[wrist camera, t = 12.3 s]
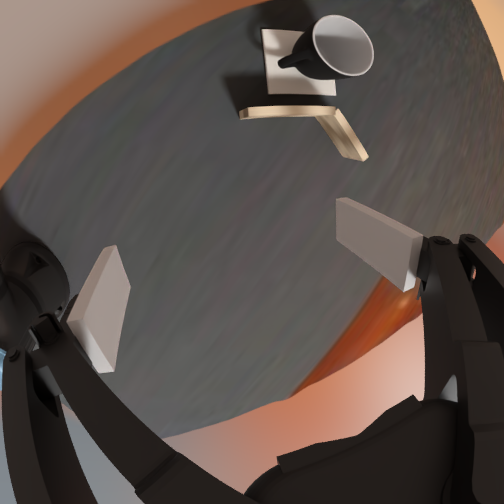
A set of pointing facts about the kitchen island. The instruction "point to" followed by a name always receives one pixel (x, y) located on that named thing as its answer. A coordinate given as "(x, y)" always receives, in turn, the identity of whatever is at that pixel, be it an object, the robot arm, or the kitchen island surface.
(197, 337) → the kitchen island surface
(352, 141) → the wooden boomerang
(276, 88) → the plate
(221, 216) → the kitchen island surface
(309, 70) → the mug
